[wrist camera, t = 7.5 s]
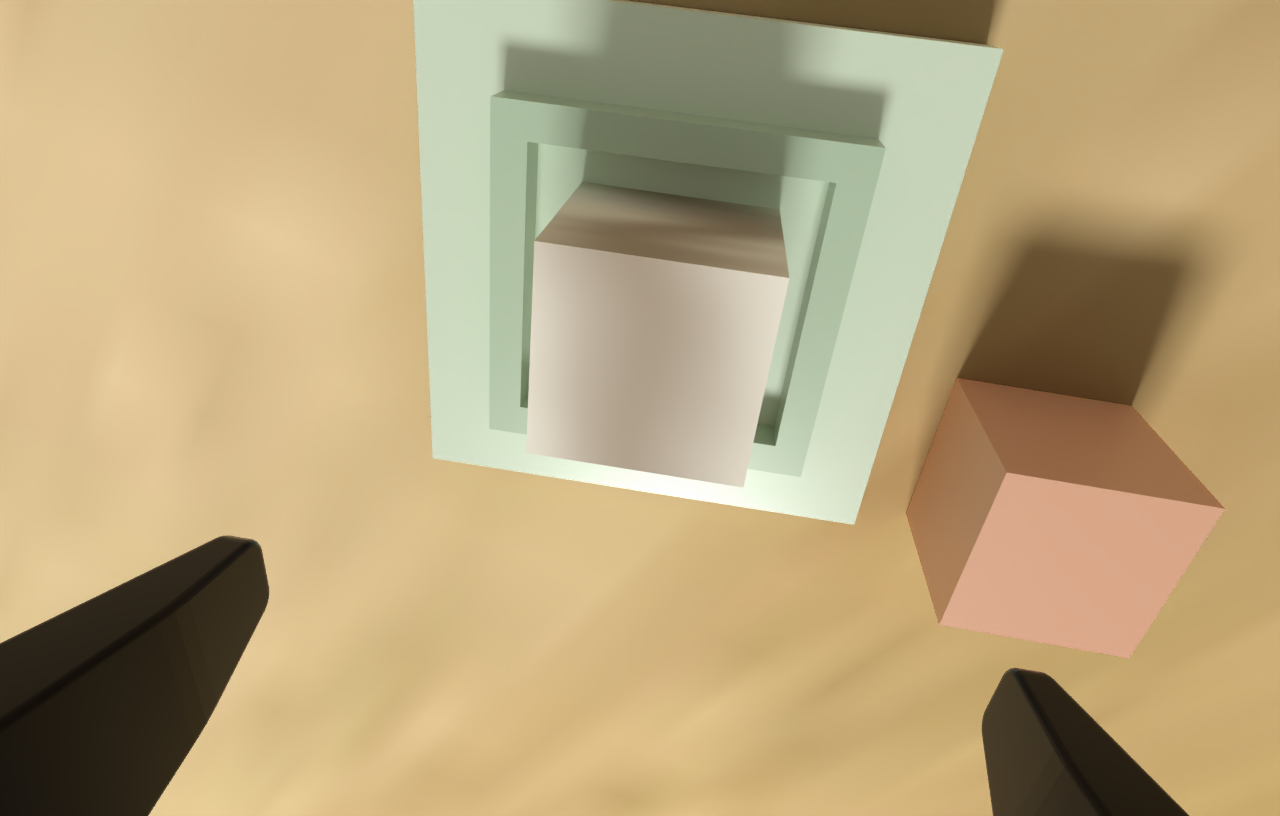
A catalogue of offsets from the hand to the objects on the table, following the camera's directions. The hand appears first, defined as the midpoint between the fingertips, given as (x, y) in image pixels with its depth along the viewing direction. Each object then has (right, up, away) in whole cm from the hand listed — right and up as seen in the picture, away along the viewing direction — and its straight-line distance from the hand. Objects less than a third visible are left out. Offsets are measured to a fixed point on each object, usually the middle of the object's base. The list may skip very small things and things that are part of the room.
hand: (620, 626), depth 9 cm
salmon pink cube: (+10, +1, +12) cm, 16 cm away
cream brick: (+1, +6, +9) cm, 11 cm away
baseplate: (+1, +6, +10) cm, 12 cm away
